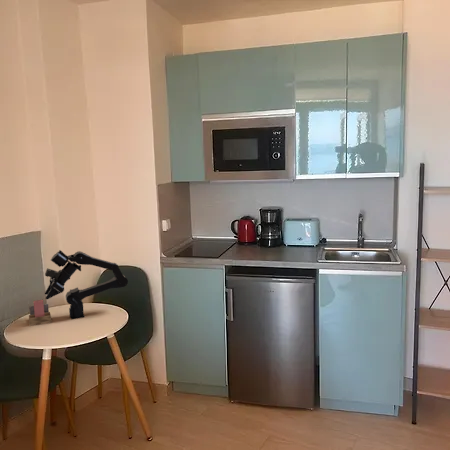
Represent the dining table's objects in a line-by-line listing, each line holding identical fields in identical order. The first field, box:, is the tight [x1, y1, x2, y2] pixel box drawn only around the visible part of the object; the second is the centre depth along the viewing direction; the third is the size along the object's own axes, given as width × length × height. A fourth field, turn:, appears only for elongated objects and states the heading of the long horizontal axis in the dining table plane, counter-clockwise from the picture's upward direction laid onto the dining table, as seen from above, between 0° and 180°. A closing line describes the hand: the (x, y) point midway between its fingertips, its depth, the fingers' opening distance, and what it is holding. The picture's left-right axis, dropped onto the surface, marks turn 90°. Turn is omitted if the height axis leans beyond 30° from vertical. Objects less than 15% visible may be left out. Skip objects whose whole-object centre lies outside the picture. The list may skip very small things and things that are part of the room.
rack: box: [28, 303, 53, 327], centre depth 237 cm, size 10×12×7 cm
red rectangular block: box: [33, 299, 45, 318], centre depth 234 cm, size 4×4×10 cm
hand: (45, 296), depth 235 cm, fingers open, 9 cm apart
